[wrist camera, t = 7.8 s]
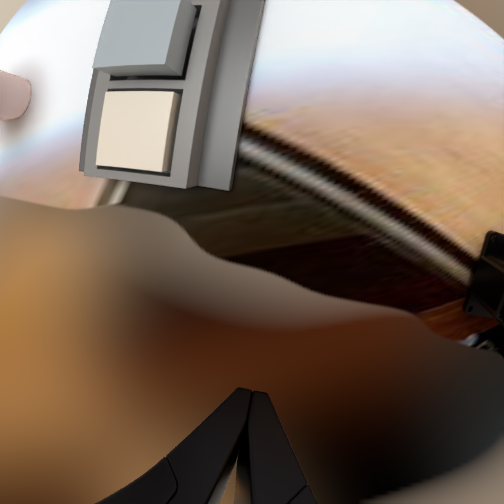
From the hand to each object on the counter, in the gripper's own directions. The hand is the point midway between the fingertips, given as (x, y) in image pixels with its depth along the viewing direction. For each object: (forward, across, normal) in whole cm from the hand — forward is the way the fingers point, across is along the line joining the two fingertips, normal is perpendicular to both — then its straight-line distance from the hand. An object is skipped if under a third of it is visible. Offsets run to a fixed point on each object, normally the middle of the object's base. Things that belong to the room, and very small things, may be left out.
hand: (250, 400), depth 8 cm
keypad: (+13, +9, -12) cm, 20 cm away
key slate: (+10, +9, -12) cm, 18 cm away
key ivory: (+12, +9, -7) cm, 16 cm away
